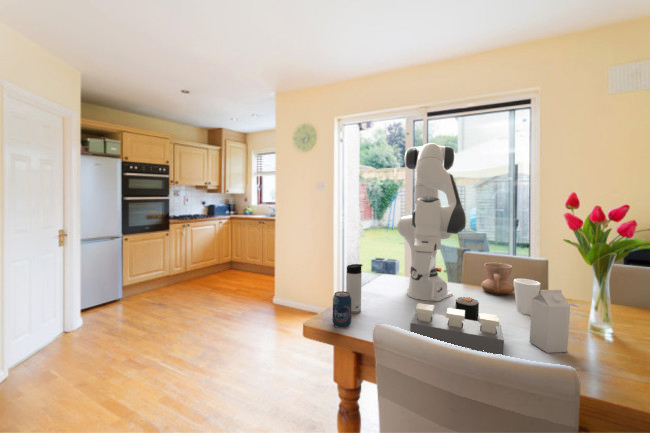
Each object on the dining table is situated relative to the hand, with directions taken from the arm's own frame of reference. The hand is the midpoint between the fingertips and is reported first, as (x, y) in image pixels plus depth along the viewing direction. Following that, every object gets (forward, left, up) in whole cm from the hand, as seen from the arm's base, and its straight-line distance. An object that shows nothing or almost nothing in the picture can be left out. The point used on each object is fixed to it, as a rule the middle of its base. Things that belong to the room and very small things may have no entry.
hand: (426, 282), depth 108 cm
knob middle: (-6, +8, -14) cm, 17 cm away
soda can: (+22, -20, -19) cm, 35 cm away
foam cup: (-53, +7, -19) cm, 56 cm away
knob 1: (0, 0, -14) cm, 14 cm away
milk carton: (-27, +27, -19) cm, 42 cm away
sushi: (-25, -1, -19) cm, 31 cm away
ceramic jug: (-68, -14, -19) cm, 72 cm away
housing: (-6, +8, -18) cm, 21 cm away
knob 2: (-11, +16, -14) cm, 25 cm away
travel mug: (+10, -29, -19) cm, 36 cm away
